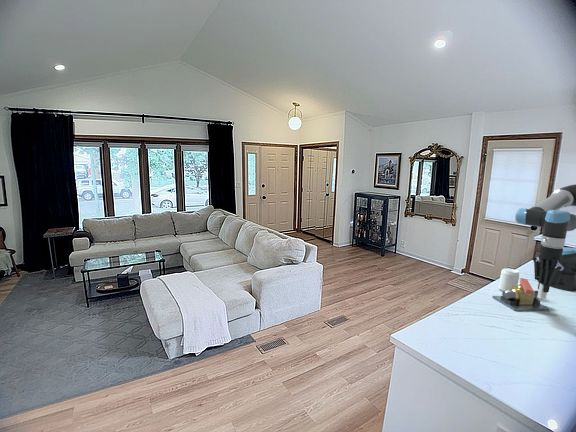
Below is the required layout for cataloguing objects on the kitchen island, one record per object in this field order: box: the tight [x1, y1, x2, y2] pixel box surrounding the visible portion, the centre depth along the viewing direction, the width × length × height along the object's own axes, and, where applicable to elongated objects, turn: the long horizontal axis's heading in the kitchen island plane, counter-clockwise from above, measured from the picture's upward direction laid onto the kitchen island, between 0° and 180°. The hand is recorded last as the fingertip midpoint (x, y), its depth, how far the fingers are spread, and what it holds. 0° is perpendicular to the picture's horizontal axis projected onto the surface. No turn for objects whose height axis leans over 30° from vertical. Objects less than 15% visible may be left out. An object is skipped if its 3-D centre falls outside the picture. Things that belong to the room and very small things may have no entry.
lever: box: [519, 277, 535, 295], centre depth 143 cm, size 17×3×4 cm, turn 150°
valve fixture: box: [492, 284, 550, 312], centre depth 150 cm, size 18×14×10 cm
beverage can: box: [498, 267, 520, 292], centre depth 166 cm, size 8×8×12 cm
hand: (541, 297), depth 132 cm, fingers closed
